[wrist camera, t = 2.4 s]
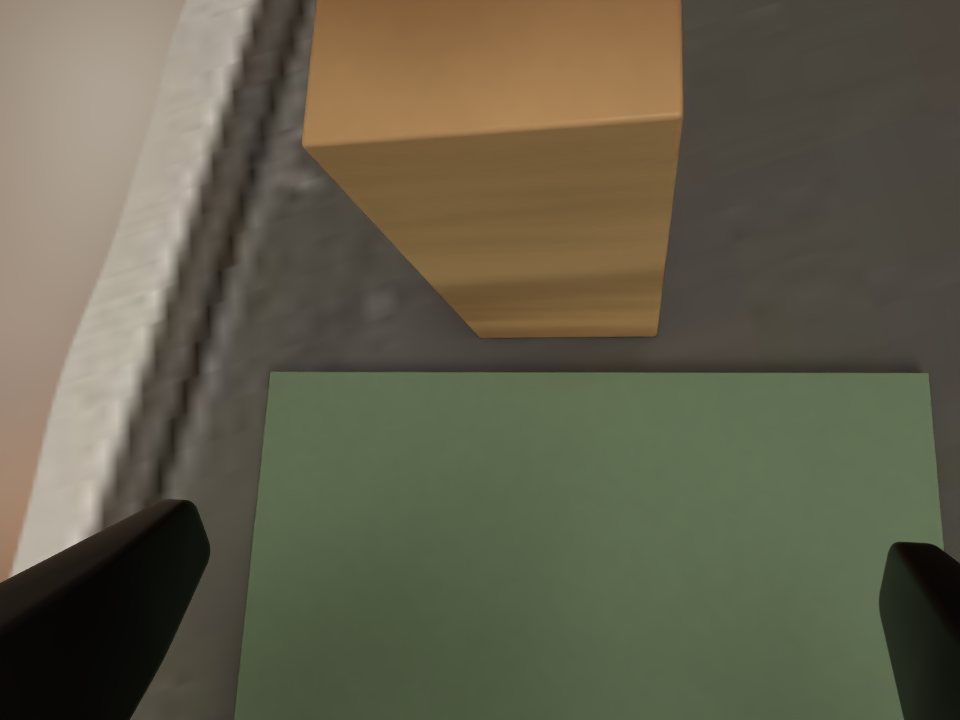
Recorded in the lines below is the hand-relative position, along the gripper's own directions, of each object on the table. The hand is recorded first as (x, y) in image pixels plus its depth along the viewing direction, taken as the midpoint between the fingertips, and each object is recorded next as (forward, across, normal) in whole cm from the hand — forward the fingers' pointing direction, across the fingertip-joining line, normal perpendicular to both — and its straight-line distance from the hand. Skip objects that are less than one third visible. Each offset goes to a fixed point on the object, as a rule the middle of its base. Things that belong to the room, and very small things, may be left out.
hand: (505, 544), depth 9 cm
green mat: (+8, +1, +10) cm, 13 cm away
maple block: (+15, +1, +1) cm, 15 cm away
